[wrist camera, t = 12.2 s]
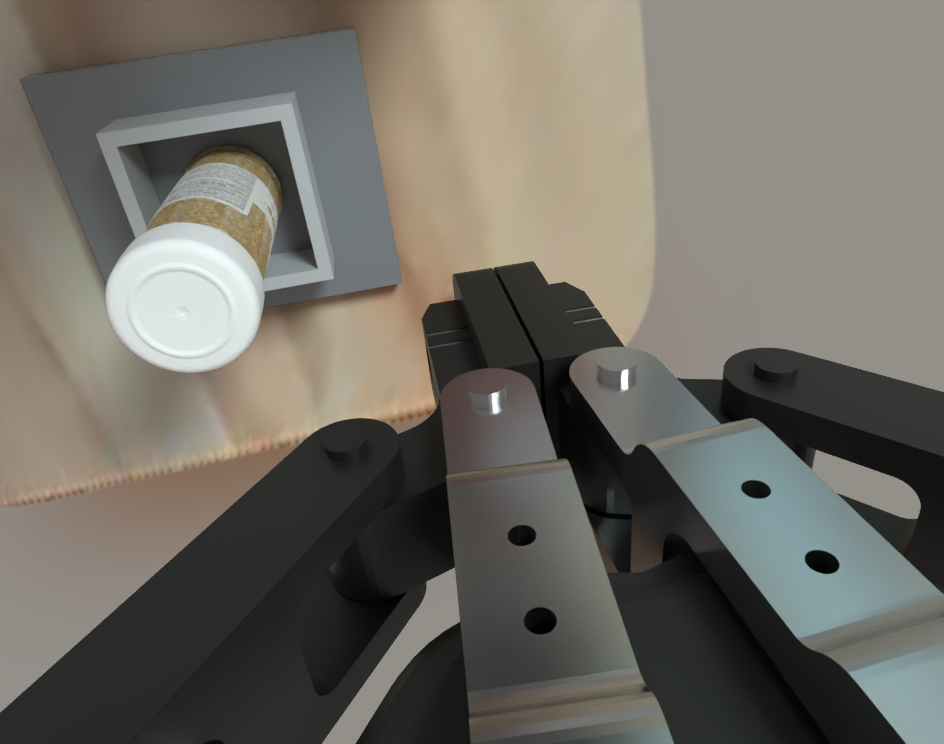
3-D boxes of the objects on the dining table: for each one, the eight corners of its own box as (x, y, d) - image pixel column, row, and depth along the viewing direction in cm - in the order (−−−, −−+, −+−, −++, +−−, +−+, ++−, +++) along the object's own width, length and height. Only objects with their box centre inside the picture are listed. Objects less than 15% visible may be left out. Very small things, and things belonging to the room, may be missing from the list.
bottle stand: (28, 75, 30) (-10, 90, 27) (354, 27, 32) (357, 35, 28) (131, 324, 37) (110, 361, 33) (400, 275, 38) (407, 307, 34)
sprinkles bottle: (274, 248, 35) (246, 390, 23) (175, 224, 34) (94, 363, 22) (293, 156, 33) (272, 262, 21) (188, 127, 32) (107, 224, 20)
